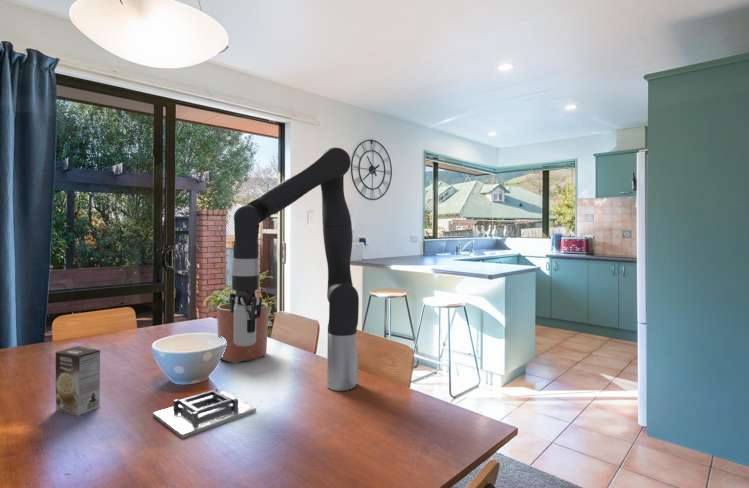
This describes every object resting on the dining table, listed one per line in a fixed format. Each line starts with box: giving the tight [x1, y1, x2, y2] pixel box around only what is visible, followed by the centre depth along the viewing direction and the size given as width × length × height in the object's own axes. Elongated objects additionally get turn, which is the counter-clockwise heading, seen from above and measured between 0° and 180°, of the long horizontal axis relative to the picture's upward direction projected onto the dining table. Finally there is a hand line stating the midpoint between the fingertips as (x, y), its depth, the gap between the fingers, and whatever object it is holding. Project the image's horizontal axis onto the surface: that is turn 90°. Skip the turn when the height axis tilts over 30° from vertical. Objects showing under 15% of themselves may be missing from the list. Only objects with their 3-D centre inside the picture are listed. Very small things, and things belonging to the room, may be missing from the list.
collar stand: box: [153, 387, 257, 439], centre depth 110 cm, size 20×17×4 cm
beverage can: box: [234, 304, 256, 346], centre depth 121 cm, size 6×6×12 cm
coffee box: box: [55, 345, 101, 417], centre depth 112 cm, size 9×6×16 cm
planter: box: [216, 302, 269, 364], centre depth 161 cm, size 19×19×20 cm
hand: (244, 330), depth 122 cm, fingers closed on beverage can, 6 cm apart
